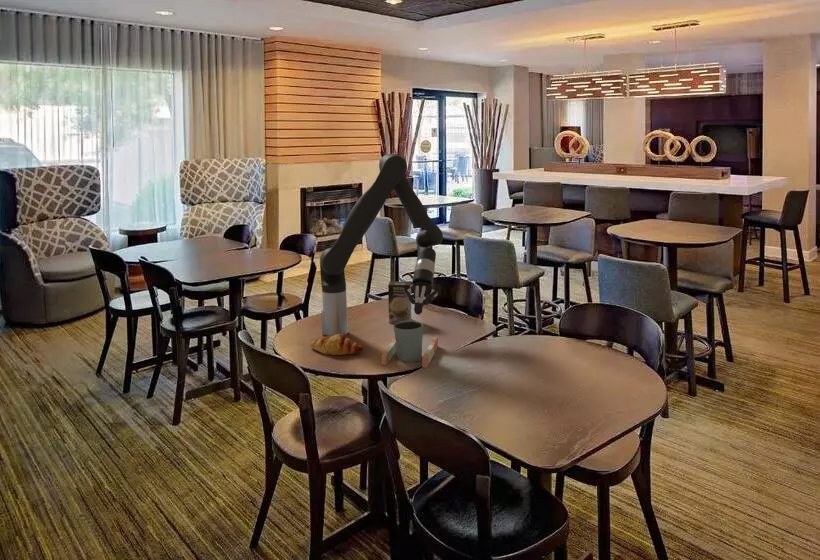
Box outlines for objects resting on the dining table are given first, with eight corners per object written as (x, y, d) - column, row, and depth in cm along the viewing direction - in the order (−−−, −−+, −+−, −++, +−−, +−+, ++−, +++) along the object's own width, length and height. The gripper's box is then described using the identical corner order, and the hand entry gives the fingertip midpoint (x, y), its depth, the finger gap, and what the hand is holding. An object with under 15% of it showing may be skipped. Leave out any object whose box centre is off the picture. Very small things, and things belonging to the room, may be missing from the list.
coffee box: (388, 323, 273) (387, 284, 270) (390, 318, 279) (389, 281, 276) (410, 323, 272) (409, 285, 269) (412, 319, 279) (411, 281, 275)
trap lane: (381, 365, 226) (381, 355, 225) (396, 344, 247) (396, 335, 246) (426, 367, 223) (426, 357, 222) (438, 346, 244) (437, 337, 243)
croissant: (307, 360, 243) (300, 344, 238) (318, 340, 250) (312, 324, 245) (360, 365, 235) (355, 349, 230) (370, 344, 242) (365, 328, 237)
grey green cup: (428, 355, 235) (427, 322, 233) (417, 364, 226) (416, 330, 224) (401, 351, 239) (400, 319, 236) (389, 361, 230) (388, 327, 227)
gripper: (405, 267, 252) (398, 307, 243) (440, 268, 249) (434, 309, 241) (408, 278, 258) (401, 317, 250) (442, 279, 256) (436, 319, 247)
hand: (417, 313), depth 245 cm, fingers closed
